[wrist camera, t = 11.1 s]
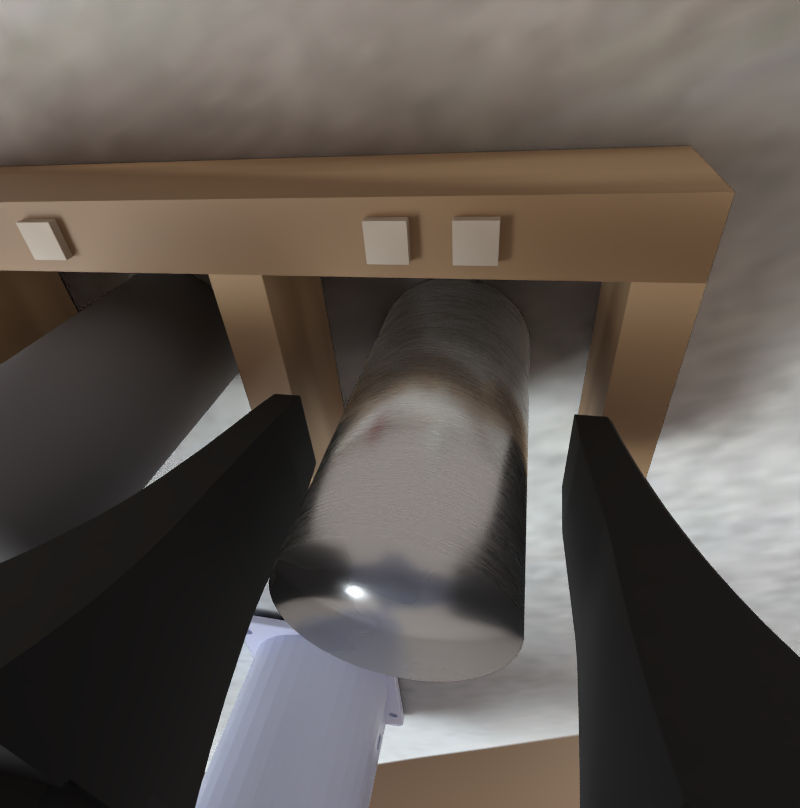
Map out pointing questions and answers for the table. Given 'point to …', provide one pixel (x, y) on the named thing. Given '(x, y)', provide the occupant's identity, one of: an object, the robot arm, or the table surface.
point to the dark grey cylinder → (105, 403)
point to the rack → (383, 252)
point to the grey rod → (421, 497)
